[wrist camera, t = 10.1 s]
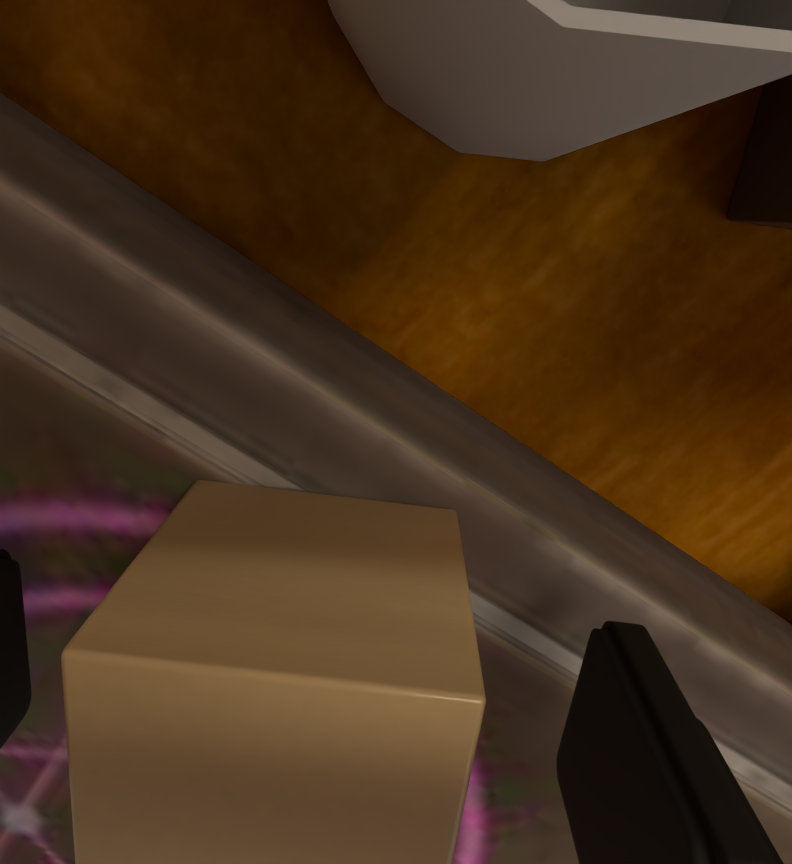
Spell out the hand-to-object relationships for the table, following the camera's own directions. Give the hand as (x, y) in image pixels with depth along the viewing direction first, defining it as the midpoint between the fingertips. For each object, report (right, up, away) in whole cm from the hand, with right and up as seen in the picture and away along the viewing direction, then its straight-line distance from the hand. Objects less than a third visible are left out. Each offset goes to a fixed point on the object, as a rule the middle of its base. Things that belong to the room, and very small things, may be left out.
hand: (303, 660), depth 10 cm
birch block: (0, +1, +2) cm, 2 cm away
